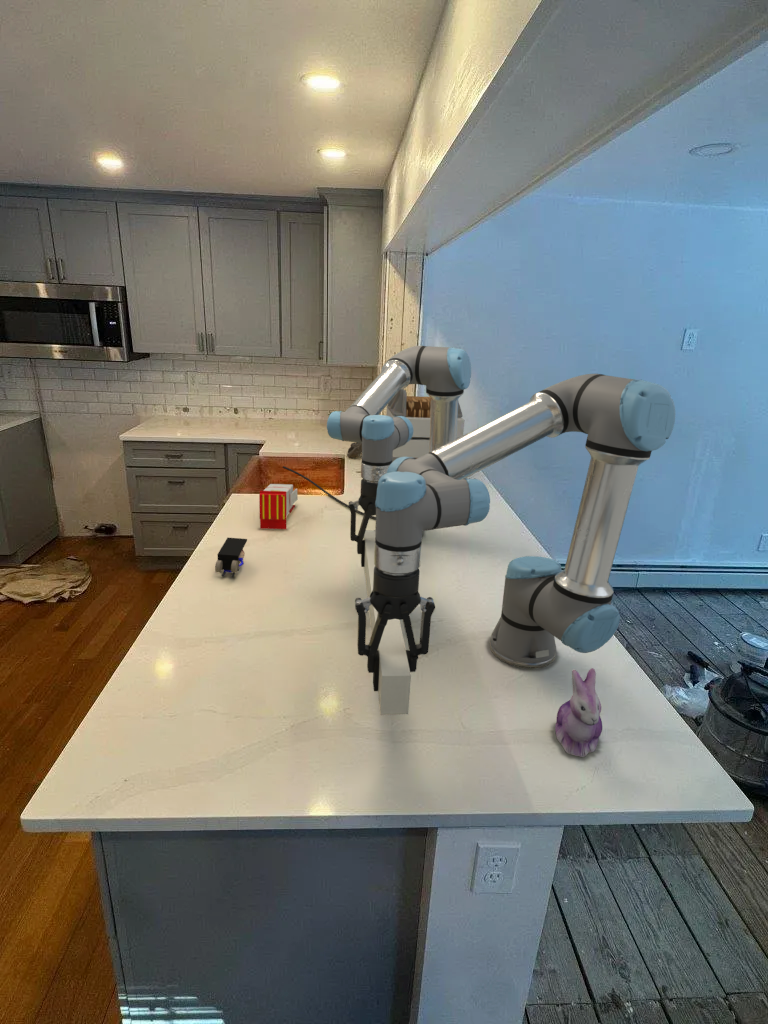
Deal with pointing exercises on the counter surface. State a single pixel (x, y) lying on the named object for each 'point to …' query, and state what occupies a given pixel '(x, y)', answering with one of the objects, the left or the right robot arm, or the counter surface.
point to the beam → (388, 649)
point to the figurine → (580, 717)
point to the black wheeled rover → (230, 556)
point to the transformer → (416, 423)
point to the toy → (276, 505)
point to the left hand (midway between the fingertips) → (373, 564)
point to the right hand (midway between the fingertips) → (390, 685)
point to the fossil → (355, 450)
